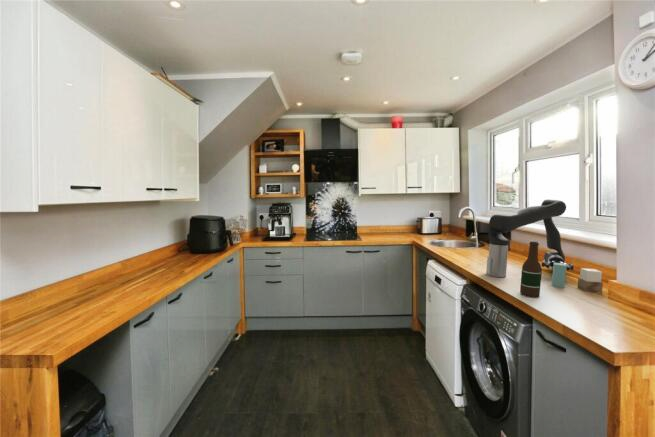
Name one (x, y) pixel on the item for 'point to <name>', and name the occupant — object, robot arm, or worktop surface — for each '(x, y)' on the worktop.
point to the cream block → (590, 275)
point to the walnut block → (590, 286)
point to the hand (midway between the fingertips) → (557, 267)
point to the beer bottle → (531, 273)
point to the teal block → (559, 275)
